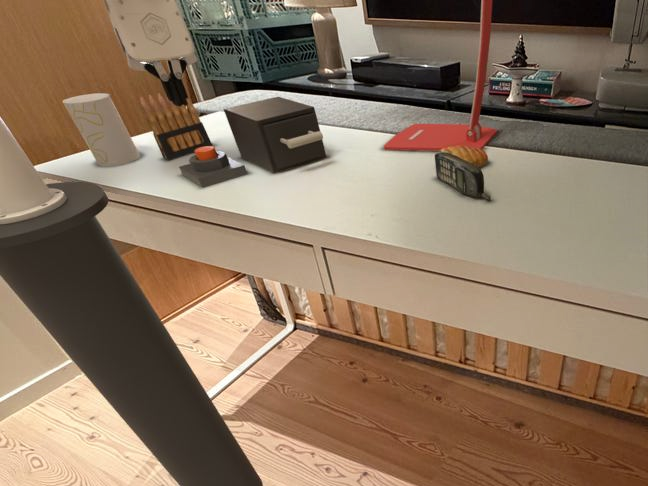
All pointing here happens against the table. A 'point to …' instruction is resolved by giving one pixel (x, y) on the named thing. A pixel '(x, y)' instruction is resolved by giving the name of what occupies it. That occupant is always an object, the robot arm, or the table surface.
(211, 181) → the control block
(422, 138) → the desk lamp
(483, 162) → the pastry
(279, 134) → the drawer
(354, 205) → the table surface
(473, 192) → the mobile phone
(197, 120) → the ammunition clip
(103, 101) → the white patterned cylinder
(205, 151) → the button
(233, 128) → the cabinet
